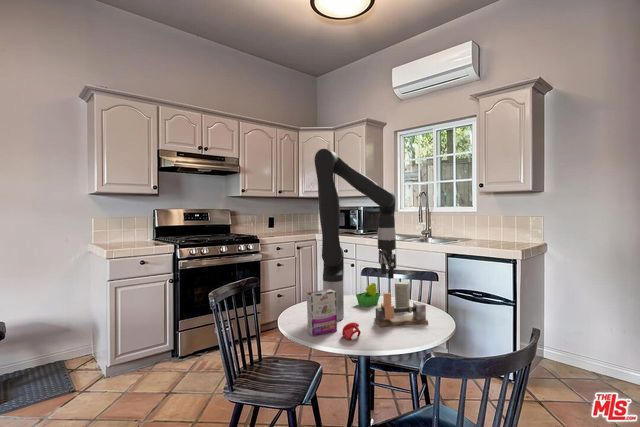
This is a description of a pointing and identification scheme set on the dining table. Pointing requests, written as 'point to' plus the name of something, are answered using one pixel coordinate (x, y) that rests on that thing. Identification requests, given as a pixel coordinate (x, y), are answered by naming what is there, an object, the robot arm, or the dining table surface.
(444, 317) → the dining table surface
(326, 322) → the candy bar box
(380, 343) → the dining table surface
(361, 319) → the dining table surface
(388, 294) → the sleeve
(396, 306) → the skincare box
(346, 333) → the red toy helmet
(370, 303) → the fruit basket
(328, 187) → the robot arm
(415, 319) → the rail
